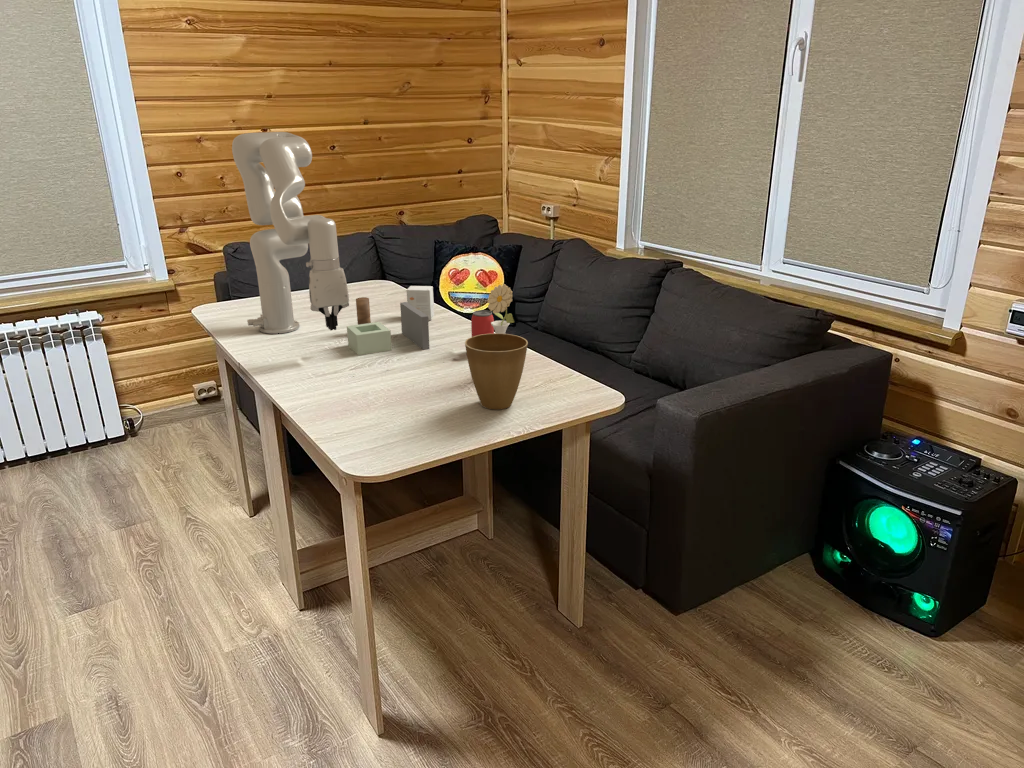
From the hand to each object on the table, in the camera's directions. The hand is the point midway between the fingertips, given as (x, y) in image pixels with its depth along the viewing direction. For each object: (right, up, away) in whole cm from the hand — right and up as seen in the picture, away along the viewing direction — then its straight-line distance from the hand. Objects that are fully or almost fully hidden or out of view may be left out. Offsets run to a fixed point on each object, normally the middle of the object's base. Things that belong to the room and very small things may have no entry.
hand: (332, 328), depth 212 cm
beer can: (+42, -6, +8) cm, 44 cm away
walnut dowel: (+5, -1, +22) cm, 23 cm away
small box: (+20, +7, +41) cm, 46 cm away
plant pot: (+47, -21, -29) cm, 59 cm away
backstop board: (+13, -5, +10) cm, 17 cm away
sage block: (+9, -5, +8) cm, 13 cm away
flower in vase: (+48, -13, -8) cm, 50 cm away
